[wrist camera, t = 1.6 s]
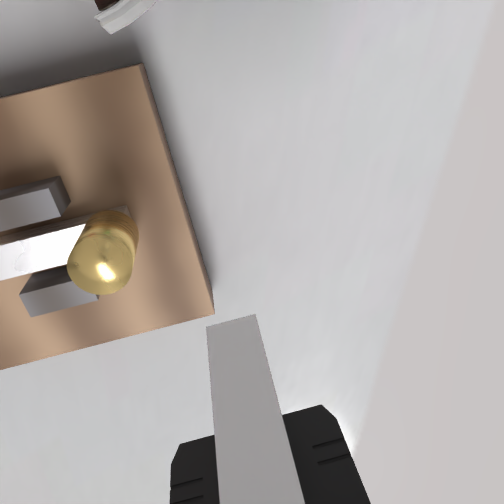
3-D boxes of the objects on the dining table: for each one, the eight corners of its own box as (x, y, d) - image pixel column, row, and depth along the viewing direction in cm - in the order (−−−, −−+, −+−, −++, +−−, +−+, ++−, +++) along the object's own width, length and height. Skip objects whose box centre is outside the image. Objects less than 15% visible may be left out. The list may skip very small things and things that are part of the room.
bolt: (132, 194, 26) (119, 232, 21) (148, 240, 27) (140, 286, 22) (-13, 231, 26) (-61, 278, 21) (10, 275, 27) (-29, 329, 22)
